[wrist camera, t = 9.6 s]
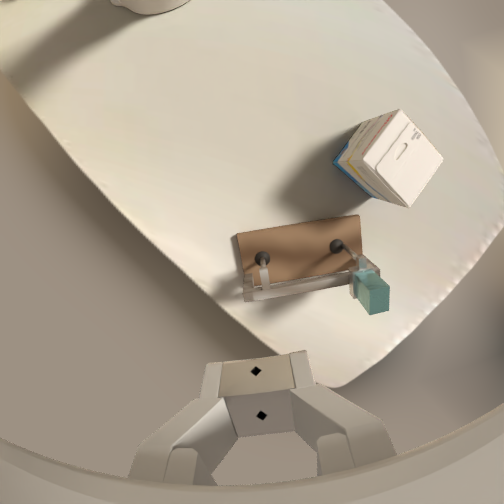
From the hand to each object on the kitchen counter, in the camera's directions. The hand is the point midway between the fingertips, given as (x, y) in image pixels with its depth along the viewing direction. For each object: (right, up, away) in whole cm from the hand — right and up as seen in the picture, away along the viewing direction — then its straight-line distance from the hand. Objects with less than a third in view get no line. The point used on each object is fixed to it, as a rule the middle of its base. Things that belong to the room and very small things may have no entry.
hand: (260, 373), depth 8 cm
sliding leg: (+13, +3, +33) cm, 36 cm away
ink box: (+17, +17, +31) cm, 39 cm away
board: (+7, +4, +34) cm, 35 cm away
